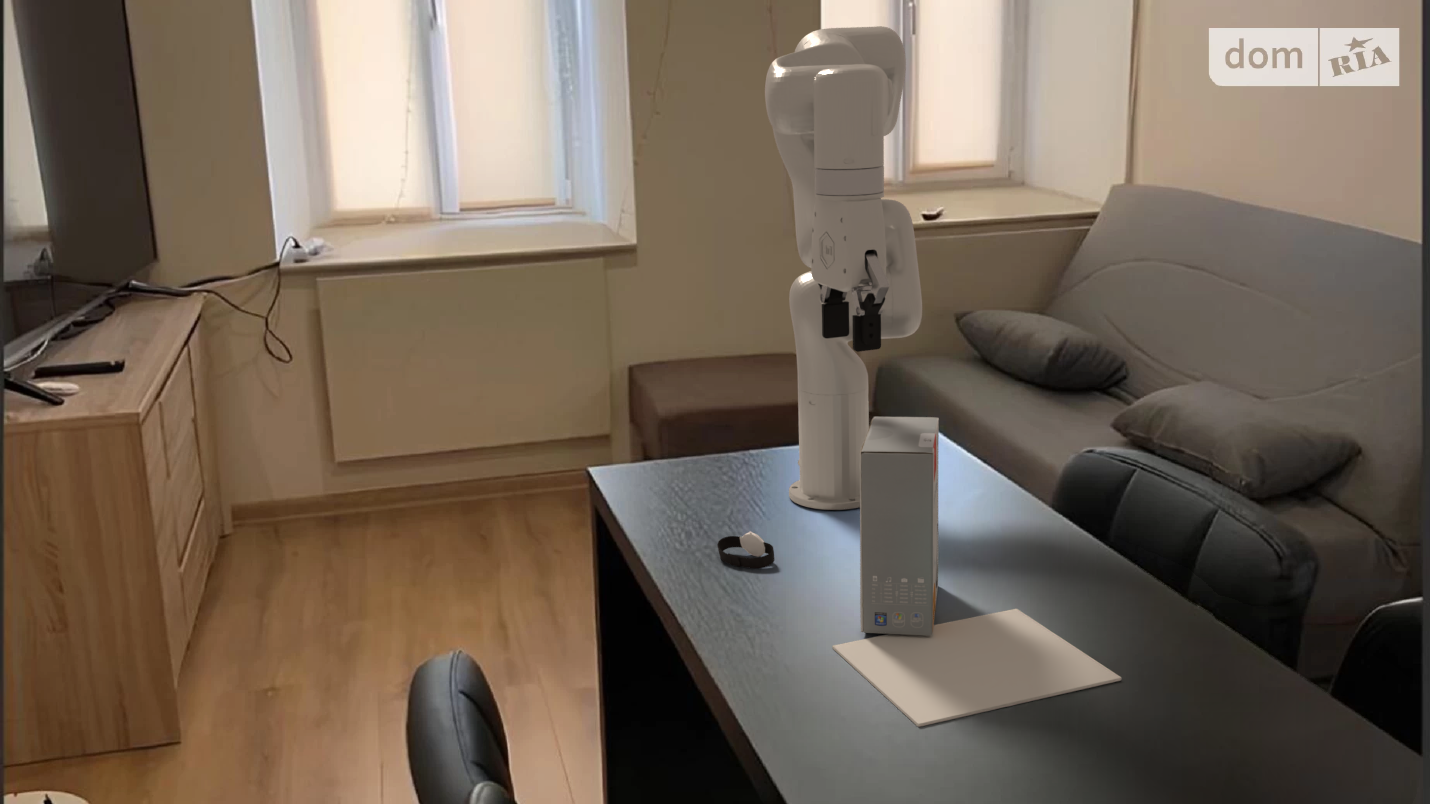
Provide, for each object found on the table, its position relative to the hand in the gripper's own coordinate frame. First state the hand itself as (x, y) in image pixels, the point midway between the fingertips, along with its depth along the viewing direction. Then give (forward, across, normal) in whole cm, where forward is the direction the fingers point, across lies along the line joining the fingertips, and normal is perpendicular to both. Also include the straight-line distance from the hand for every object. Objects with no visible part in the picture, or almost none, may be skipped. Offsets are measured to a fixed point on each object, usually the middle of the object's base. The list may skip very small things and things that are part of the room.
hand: (851, 342), depth 147 cm
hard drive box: (+28, +12, 0) cm, 30 cm away
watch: (+28, -9, -10) cm, 31 cm away
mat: (+28, +26, 0) cm, 38 cm away
